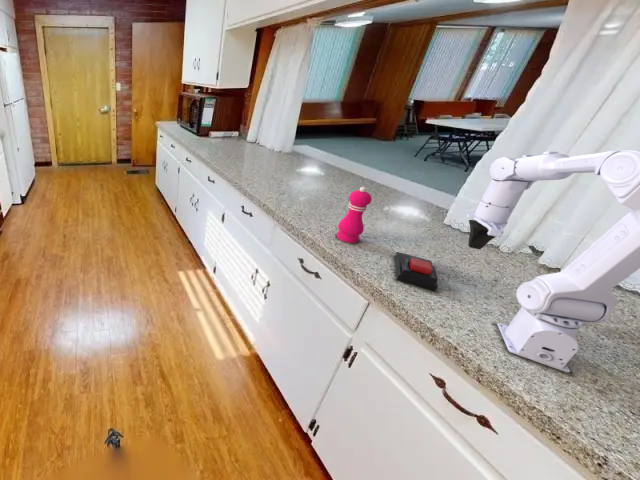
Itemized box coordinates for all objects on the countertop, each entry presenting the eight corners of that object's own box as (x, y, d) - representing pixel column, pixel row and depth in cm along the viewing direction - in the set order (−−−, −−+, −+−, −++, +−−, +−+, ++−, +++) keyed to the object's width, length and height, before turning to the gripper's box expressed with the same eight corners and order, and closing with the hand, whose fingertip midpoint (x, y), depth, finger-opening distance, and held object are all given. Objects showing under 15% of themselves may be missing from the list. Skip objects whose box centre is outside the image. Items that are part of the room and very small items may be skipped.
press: (434, 291, 80) (440, 280, 78) (396, 280, 85) (401, 268, 83) (428, 266, 90) (434, 255, 88) (394, 256, 95) (399, 246, 93)
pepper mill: (333, 238, 105) (348, 187, 97) (337, 231, 110) (352, 181, 102) (357, 246, 100) (376, 193, 92) (361, 237, 105) (378, 186, 97)
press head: (429, 275, 81) (432, 269, 80) (409, 270, 83) (412, 264, 82) (427, 268, 84) (430, 262, 83) (408, 263, 86) (411, 257, 85)
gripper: (469, 190, 83) (449, 231, 88) (481, 209, 73) (458, 254, 78) (507, 196, 79) (483, 239, 84) (526, 217, 69) (498, 264, 74)
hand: (474, 247), depth 81 cm, fingers closed
